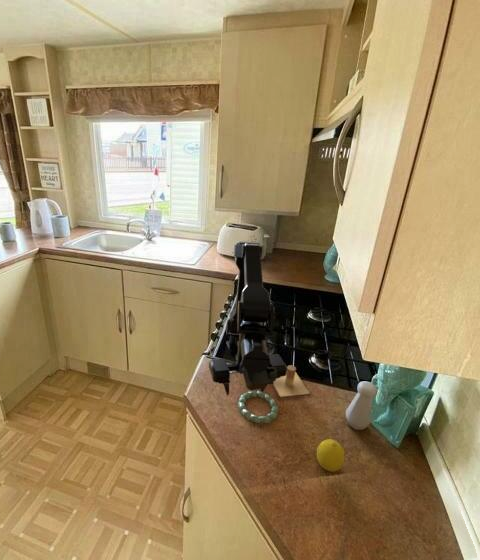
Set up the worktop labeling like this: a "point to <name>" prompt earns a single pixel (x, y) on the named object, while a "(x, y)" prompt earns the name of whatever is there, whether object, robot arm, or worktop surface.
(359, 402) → the salt shaker
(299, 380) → the stand
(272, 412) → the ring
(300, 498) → the worktop surface
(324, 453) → the lemon
